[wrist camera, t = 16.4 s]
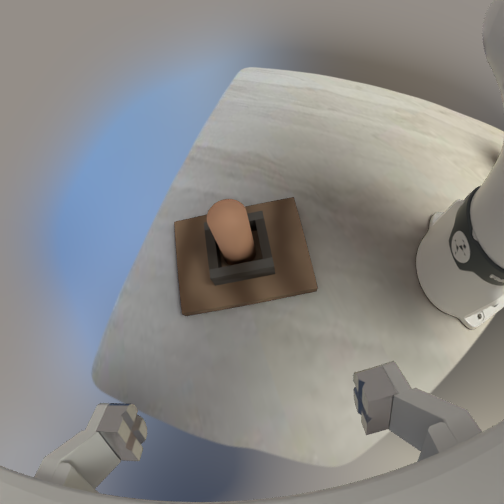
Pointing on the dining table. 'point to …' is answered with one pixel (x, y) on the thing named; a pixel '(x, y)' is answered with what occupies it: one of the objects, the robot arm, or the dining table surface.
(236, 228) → the peg
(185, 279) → the collar stand
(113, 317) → the dining table surface
